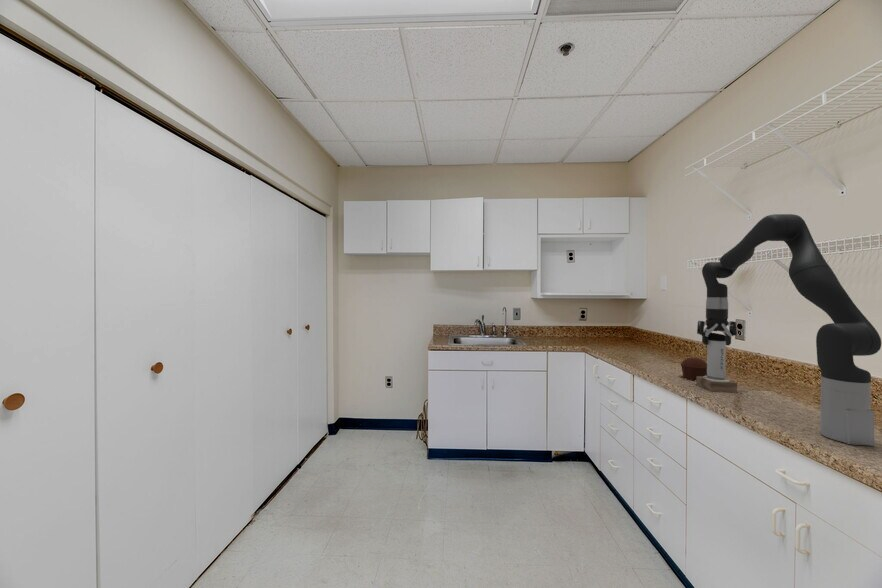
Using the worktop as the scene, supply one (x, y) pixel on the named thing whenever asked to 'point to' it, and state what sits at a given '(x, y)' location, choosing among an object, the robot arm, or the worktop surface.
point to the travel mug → (716, 356)
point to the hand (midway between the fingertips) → (716, 344)
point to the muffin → (693, 368)
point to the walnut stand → (716, 384)
